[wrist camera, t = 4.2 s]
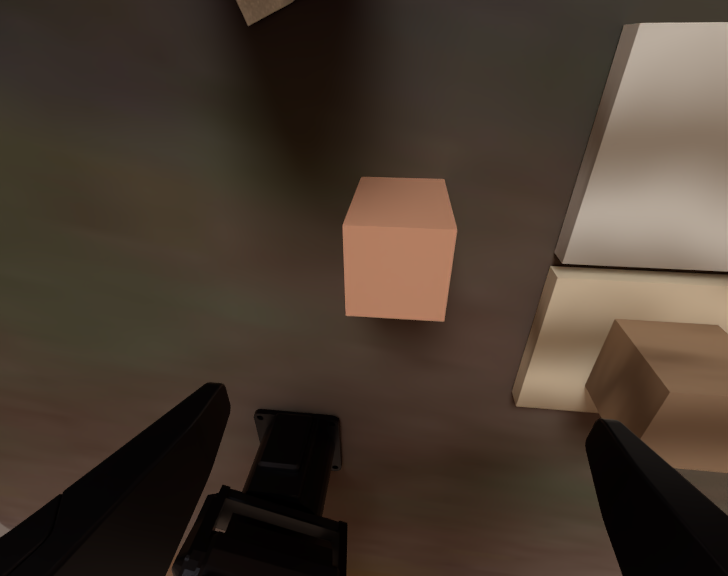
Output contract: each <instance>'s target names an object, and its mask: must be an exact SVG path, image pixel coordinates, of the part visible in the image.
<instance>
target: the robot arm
mask: <svg viewBox="0 0 728 576" xmlns="http://www.w3.org/2000/svg"><path fill="white" fill-rule="evenodd" d="M229 414H230V402H229V398H228V394H227V391H226V387H225V385H224V384H222V383H212V382H209V383H206V384H204V385H203V386H202V387H200V388H199V389H198V390H196V391H195V392H194V393H192V394H191V395H190V396H188V397H187V398H186V399H185V400H183V401H182V402H181V403H179V404H178V405H177V406H175V407H174V408H173V409H171V410H170V411H169V412H167V413H166V414H165V415H163V416H162V417H161V418H159V419H158V420H157V421H156V422H154V423H153V424H152V425H150V426H149V427H148V428H146V429H145V430H144V431H142V432H141V433H140V434H138V435H137V436H136V437H134V438H133V439H132V440H130V441H129V442H128V443H126V444H125V445H124V446H123V447H121V448H120V449H119V450H117V451H116V452H115V453H113V454H112V455H111V456H109V457H108V458H107V459H105V460H104V461H103V462H101V463H100V464H99V465H97V466H96V467H95V468H93V469H92V470H91V471H90V472H88V473H87V474H86V475H84V476H83V477H82V478H80V479H79V480H78V481H76V482H75V483H74V484H72V485H71V486H70V487H68V488H67V489H66V490H64V492H63V494H59V495H58V496H56V497H55V498H54V499H52V500H51V501H50V502H48V503H47V504H46V505H44V506H43V507H42V508H40V509H39V510H38V511H36V512H35V513H34V514H32V515H31V516H30V517H28V518H27V519H26V520H24V521H23V522H21V523H20V524H19V525H17V526H16V527H15V528H13V529H12V530H11V531H9V532H8V533H6V534H5V535H3V536H2V537H0V576H165V575H166V573H167V571H168V569H169V566H170V564H171V562H172V560H173V557H174V555H175V553H176V550H177V548H178V546H179V544H180V541H181V539H182V537H183V535H184V532H185V530H186V528H187V526H188V523H189V521H190V519H191V516H192V514H193V512H194V510H195V507H196V505H197V503H198V501H199V498H200V496H201V494H202V492H203V489H204V487H205V485H206V482H207V480H208V478H209V475H210V473H211V470H212V467H213V464H214V461H215V458H216V455H217V452H218V449H219V446H220V443H221V439H222V436H223V433H224V430H225V427H226V424H227V421H228V418H229ZM254 420H255V424H256V428H257V432H258V436H259V440H260V446H259V449H258V451H257V454H256V457H255V459H254V462H253V464H252V467H251V470H250V472H249V475H248V478H247V480H246V483H245V485H244V488H243V491H242V492H240V491H237V490H233V489H230V487H229V486H226V485H222V487H221V489H220V491H219V493H216V494H211V495H208V496H207V498H206V500H205V502H204V504H203V507H202V509H201V511H200V513H199V515H198V517H197V520H196V522H195V524H194V526H193V527H192V529H191V531H190V533H189V535H188V537H187V539H186V541H185V542H184V544H183V546H182V548H181V550H180V552H179V554H178V555H177V557H176V559H175V562H174V564H173V566H172V569H171V570H172V573H173V576H346V564H347V523H346V522H343V521H339V522H337V521H334V520H331V519H328V518H324V517H322V514H323V509H324V504H325V498H326V493H327V488H328V483H329V478H330V472H331V470H333V471H338V470H340V469H341V466H342V456H341V439H340V422H339V418H338V417H336V416H333V415H322V414H310V413H299V412H287V411H276V410H265V409H258V410H256V412H255V414H254ZM585 447H586V453H587V457H588V461H589V465H590V469H591V473H592V478H593V482H594V486H595V490H596V494H597V498H598V502H599V507H600V510H601V514H602V518H603V521H604V524H605V527H606V530H607V533H608V535H609V538H610V541H611V544H612V547H613V550H614V552H615V555H616V558H617V561H618V564H619V567H620V569H621V572H622V575H623V576H728V515H726V514H725V513H724V512H723V511H722V510H721V509H720V508H718V507H717V506H716V505H715V504H714V503H713V502H712V501H710V500H709V499H708V498H707V497H706V496H705V495H704V494H702V493H701V492H700V491H699V490H698V489H697V488H696V487H694V486H693V485H692V484H691V483H690V482H689V481H688V480H687V479H685V478H684V477H683V476H682V475H681V474H680V473H679V472H677V471H676V470H675V469H674V468H673V467H672V466H671V465H669V464H668V463H667V462H666V461H665V460H664V459H663V458H661V457H660V456H659V455H658V454H657V453H656V452H655V451H653V450H652V449H651V448H650V447H649V446H648V445H647V444H645V443H644V442H643V441H642V440H641V439H640V438H639V437H637V436H636V435H635V434H634V433H633V432H632V431H631V430H629V429H628V428H627V427H626V426H625V425H624V424H623V423H621V422H620V421H618V420H614V419H604V418H600V419H598V420H597V421H596V422H595V424H594V426H593V428H592V429H591V431H590V433H589V435H588V437H587V439H586V444H585ZM215 528H218V529H221V530H225V533H223V532H220V531H219V532H217V531H215Z"/></svg>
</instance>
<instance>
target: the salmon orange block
mask: <svg viewBox="0 0 728 576" xmlns="http://www.w3.org/2000/svg"><path fill="white" fill-rule="evenodd" d="M456 235H457V227H456V223H455V219H454V215H453V211H452V207H451V204H450V200H449V196H448V192H447V188H446V184H445V180H444V179H423V178H387V177H361V179H360V181H359V184H358V186H357V189H356V192H355V194H354V197H353V199H352V202H351V205H350V207H349V210H348V212H347V215H346V217H345V220H344V223H343V252H344V279H345V307H346V316H360V317H376V318H393V319H409V320H425V321H442V322H444V319H445V312H446V305H447V298H448V291H449V284H450V277H451V270H452V263H453V256H454V249H455V242H456Z"/></svg>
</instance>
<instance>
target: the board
mask: <svg viewBox="0 0 728 576" xmlns="http://www.w3.org/2000/svg"><path fill="white" fill-rule="evenodd" d="M554 253H555V254H556V256H557V257H558V258H559V260H560V261H561V263H562V264H578V265H600V266H621V267H642V268H663V269H684V270H705V271H727V272H728V22H707V23H637V24H627V25H624V26H623V29H622V33H621V36H620V39H619V43H618V46H617V49H616V52H615V56H614V59H613V62H612V65H611V69H610V72H609V75H608V79H607V82H606V85H605V88H604V92H603V95H602V98H601V101H600V105H599V108H598V111H597V115H596V118H595V121H594V124H593V128H592V131H591V134H590V137H589V141H588V144H587V147H586V151H585V154H584V157H583V160H582V164H581V167H580V170H579V173H578V177H577V180H576V183H575V187H574V190H573V193H572V196H571V200H570V203H569V206H568V209H567V213H566V216H565V219H564V223H563V226H562V229H561V232H560V236H559V239H558V242H557V245H556V249H555V252H554ZM615 319H627V320H644V321H661V322H678V323H695V324H711V325H719V326H720V327H721V328H722V329H723V330H724V331H725V332H726V333H727V334H728V275H727V274H706V273H685V272H664V271H643V270H623V269H602V268H581V267H560V266H550V268H549V272H548V275H547V278H546V281H545V285H544V288H543V291H542V295H541V298H540V301H539V304H538V308H537V311H536V314H535V317H534V321H533V324H532V327H531V331H530V334H529V337H528V340H527V344H526V347H525V350H524V353H523V357H522V360H521V363H520V367H519V370H518V373H517V376H516V380H515V383H514V386H513V389H512V394H513V398H514V401H515V405H516V406H518V407H530V408H543V409H555V410H567V411H580V412H592V413H599V412H598V410H597V408H596V406H595V404H594V402H593V401H592V399H591V397H590V395H589V393H588V391H587V389H586V387H585V384H586V382H587V379H588V377H589V375H590V373H591V371H592V368H593V366H594V364H595V362H596V360H597V357H598V355H599V353H600V351H601V348H602V346H603V344H604V342H605V340H606V337H607V335H608V333H609V331H610V329H611V326H612V324H613V322H614V320H615Z"/></svg>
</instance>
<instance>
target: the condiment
mask: <svg viewBox="0 0 728 576" xmlns="http://www.w3.org/2000/svg"><path fill="white" fill-rule="evenodd" d="M236 1H237V3H238V5H239V8H240V10H241V12H242V14H243V16H244V18H245V20H246V23H247V25H248V26H249V25H251V24H253V23H255V22H257V21H258V20H260V19H262V18H264V17H266V16H268V15H270V14H271V13H273V12H275V11H277V10H279V9H281V8H283V7H285V6H286V5H288V4H290V3H292V2H293V1H295V0H236Z"/></svg>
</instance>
